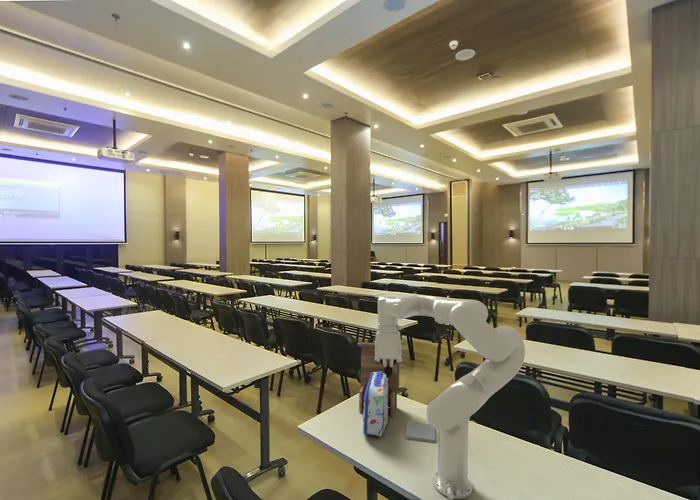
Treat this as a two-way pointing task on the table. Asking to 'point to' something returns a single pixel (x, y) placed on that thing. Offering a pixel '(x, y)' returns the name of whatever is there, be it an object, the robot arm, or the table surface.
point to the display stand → (374, 366)
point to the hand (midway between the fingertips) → (388, 376)
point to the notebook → (420, 432)
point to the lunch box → (376, 404)
